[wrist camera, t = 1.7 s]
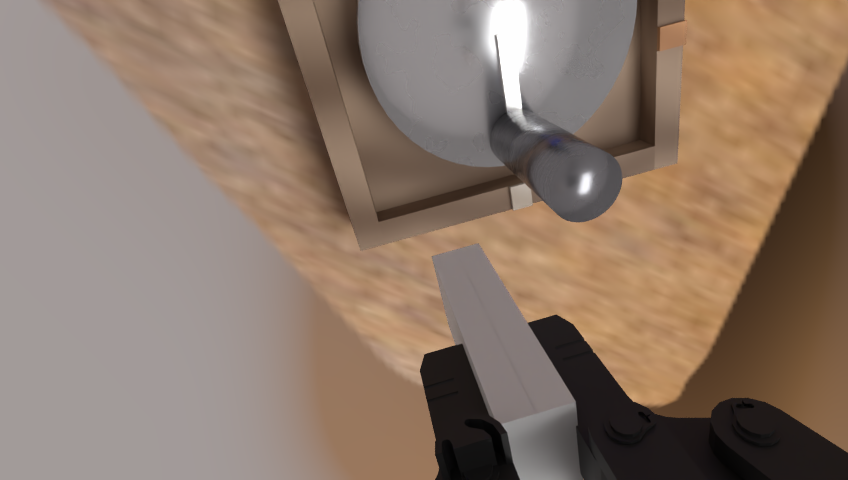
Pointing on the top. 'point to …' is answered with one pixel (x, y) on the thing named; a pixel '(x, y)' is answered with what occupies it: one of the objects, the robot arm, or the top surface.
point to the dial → (504, 86)
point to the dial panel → (456, 183)
